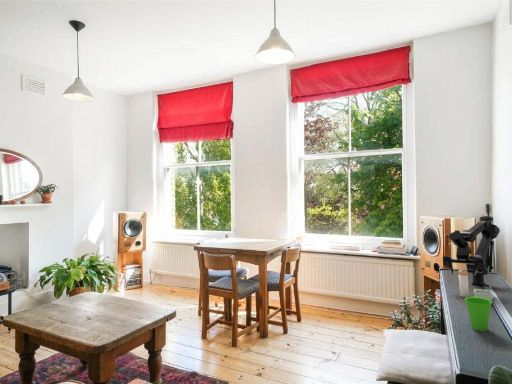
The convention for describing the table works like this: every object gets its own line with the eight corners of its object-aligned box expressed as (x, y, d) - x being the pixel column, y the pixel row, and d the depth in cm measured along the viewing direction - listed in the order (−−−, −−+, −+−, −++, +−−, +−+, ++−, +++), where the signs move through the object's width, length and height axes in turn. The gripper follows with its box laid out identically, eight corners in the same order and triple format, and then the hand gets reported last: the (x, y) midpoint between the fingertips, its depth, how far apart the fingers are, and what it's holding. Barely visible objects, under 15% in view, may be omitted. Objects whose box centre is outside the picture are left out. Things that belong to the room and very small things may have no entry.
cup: (498, 333, 123) (497, 304, 124) (471, 332, 125) (470, 303, 126) (487, 324, 132) (485, 296, 133) (462, 323, 134) (460, 296, 134)
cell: (459, 294, 172) (458, 267, 172) (469, 295, 169) (467, 268, 170) (459, 296, 168) (458, 269, 169) (468, 297, 166) (467, 270, 166)
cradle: (474, 294, 170) (473, 288, 171) (492, 296, 166) (492, 290, 166) (474, 298, 164) (473, 292, 164) (492, 300, 160) (492, 294, 160)
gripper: (441, 241, 182) (440, 265, 172) (483, 242, 171) (484, 268, 162) (444, 253, 188) (443, 276, 179) (483, 255, 177) (485, 280, 168)
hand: (463, 275), depth 172 cm, fingers open, 9 cm apart
